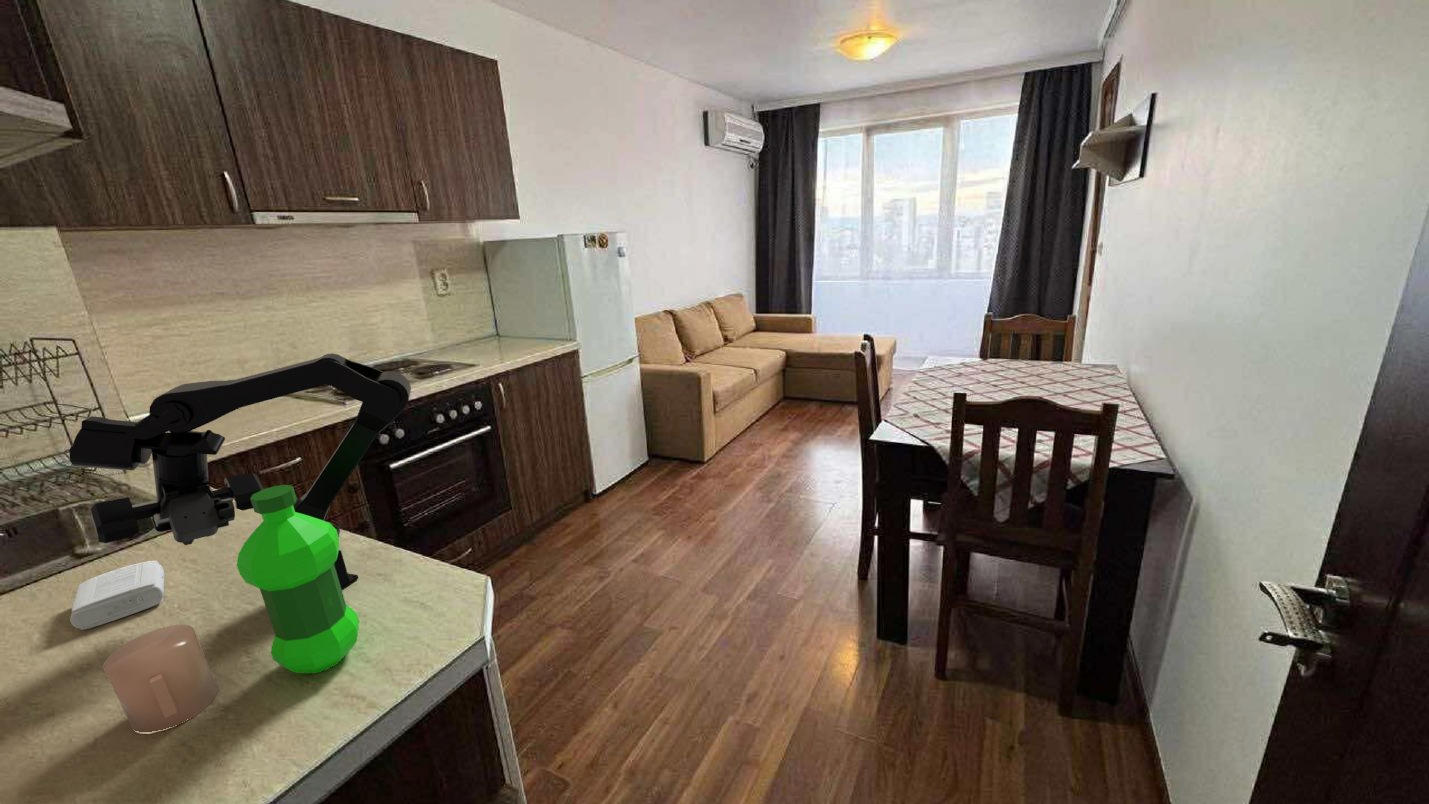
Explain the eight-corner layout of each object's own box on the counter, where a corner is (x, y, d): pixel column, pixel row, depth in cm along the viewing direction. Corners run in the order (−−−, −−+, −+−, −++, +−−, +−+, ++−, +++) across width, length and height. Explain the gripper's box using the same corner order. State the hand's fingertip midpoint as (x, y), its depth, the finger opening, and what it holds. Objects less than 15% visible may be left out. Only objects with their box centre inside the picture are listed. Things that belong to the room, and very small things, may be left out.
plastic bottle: (308, 698, 71) (248, 519, 64) (262, 673, 76) (201, 503, 68) (383, 646, 80) (339, 482, 72) (338, 626, 84) (291, 470, 77)
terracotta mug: (132, 708, 71) (104, 649, 69) (215, 672, 76) (192, 616, 74) (131, 754, 65) (100, 690, 62) (222, 711, 70) (196, 651, 67)
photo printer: (168, 603, 92) (167, 573, 101) (159, 580, 91) (159, 552, 99) (76, 636, 85) (84, 601, 94) (64, 611, 84) (73, 578, 93)
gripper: (99, 526, 72) (113, 605, 80) (278, 487, 86) (276, 557, 94) (82, 470, 77) (97, 550, 84) (254, 442, 91) (254, 512, 99)
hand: (187, 542), depth 90 cm, fingers closed
